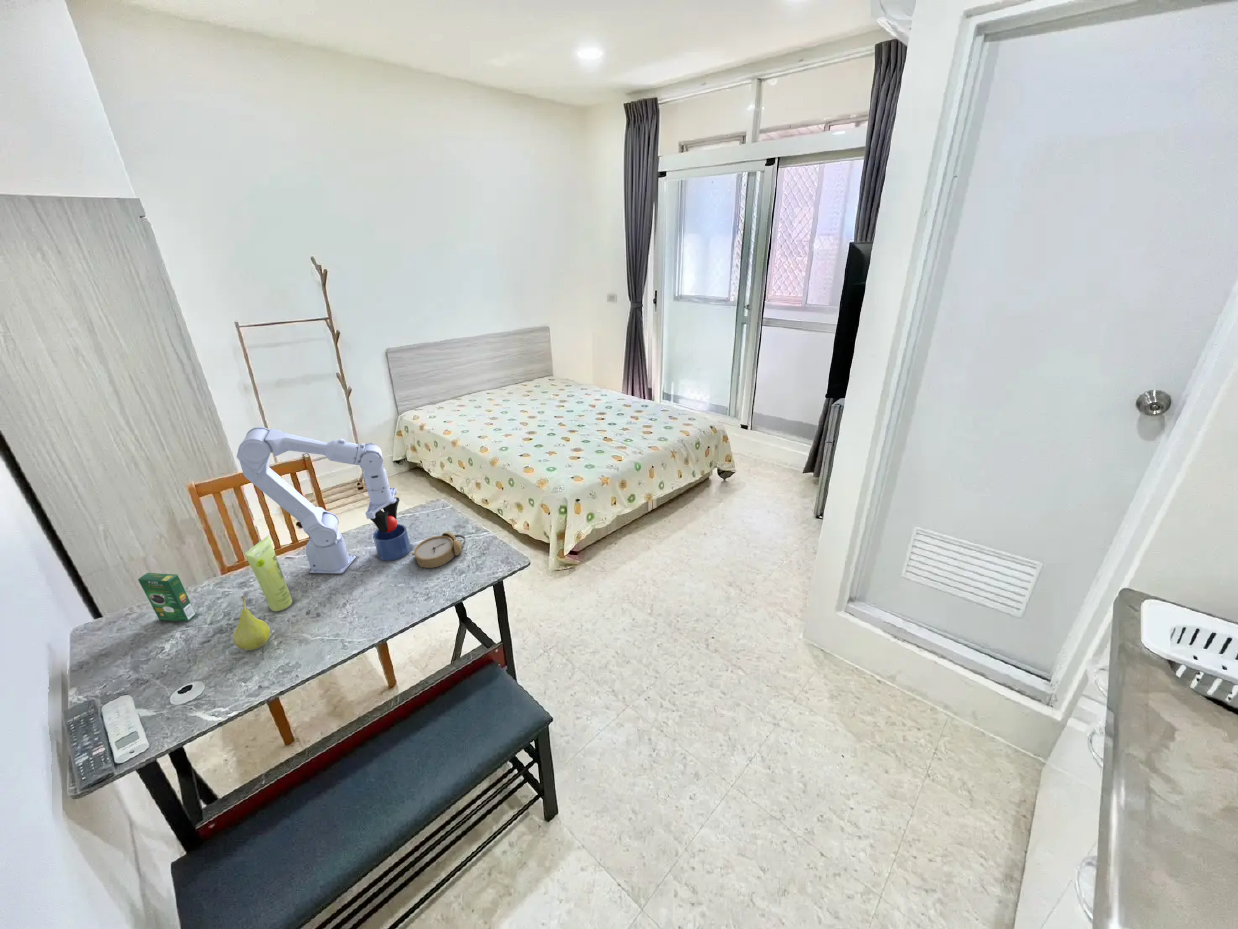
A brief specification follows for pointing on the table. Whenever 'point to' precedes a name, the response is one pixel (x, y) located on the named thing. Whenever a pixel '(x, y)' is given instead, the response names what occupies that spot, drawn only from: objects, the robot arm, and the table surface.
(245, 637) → the fruit
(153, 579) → the coffee box
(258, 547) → the tube
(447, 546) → the alarm clock
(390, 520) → the tomato
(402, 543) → the cup
